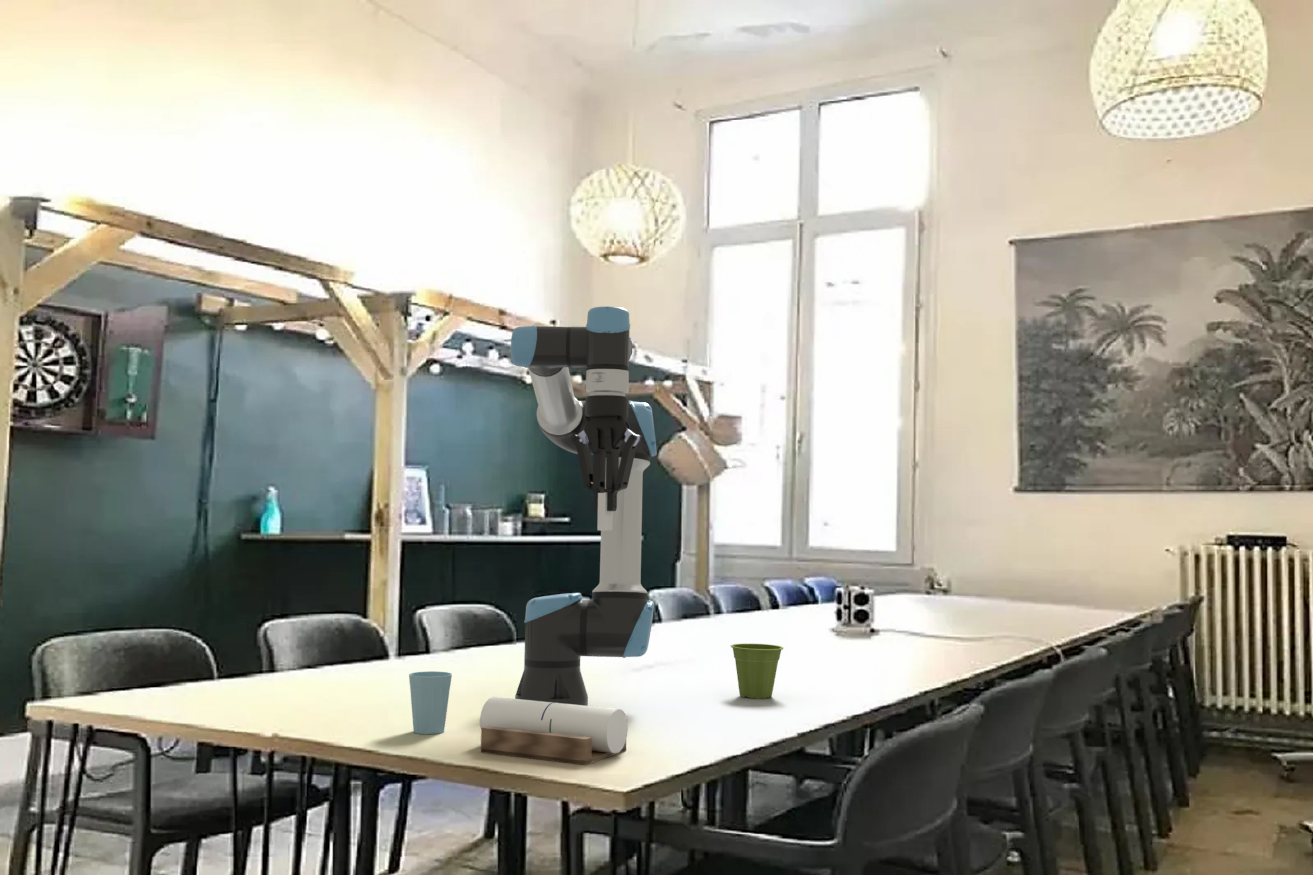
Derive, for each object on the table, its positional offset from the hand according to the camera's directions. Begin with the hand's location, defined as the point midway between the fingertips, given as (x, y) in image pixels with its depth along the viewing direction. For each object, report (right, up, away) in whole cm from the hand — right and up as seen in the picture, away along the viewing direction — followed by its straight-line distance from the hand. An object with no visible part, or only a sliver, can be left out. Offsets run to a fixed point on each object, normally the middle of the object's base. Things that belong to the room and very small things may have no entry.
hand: (604, 530), depth 206 cm
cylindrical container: (+3, -32, -12) cm, 34 cm away
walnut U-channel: (-8, -37, -8) cm, 38 cm away
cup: (-32, -38, +9) cm, 50 cm away
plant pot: (+31, -42, +58) cm, 79 cm away
